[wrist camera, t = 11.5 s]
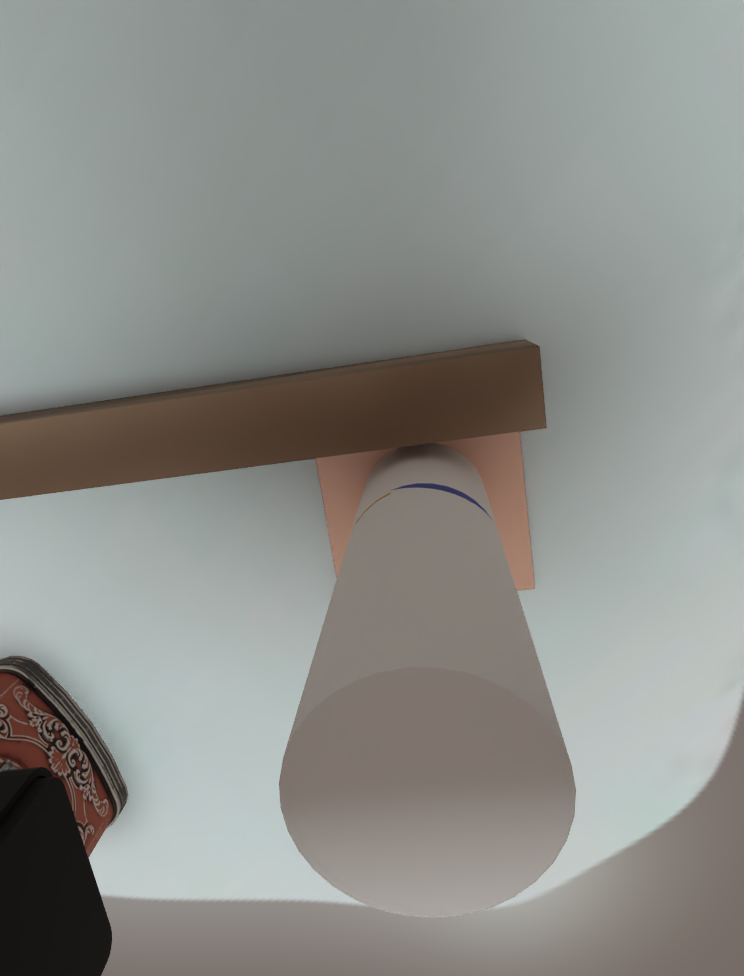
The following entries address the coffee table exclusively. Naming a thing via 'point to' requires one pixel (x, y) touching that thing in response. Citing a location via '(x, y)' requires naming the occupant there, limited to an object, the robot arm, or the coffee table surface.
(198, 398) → the walnut straightedge
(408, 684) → the tube
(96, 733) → the lighter
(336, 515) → the end pad
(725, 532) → the coffee table surface
